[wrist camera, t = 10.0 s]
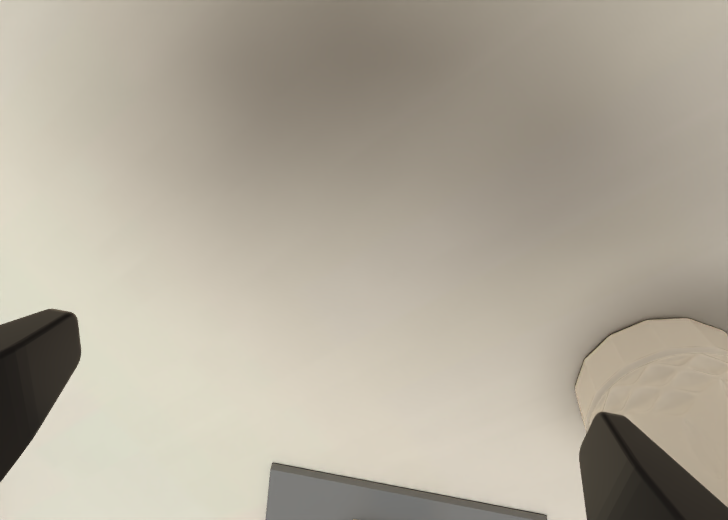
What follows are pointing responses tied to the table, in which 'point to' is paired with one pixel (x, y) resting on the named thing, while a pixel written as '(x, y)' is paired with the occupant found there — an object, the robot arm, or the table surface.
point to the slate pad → (367, 500)
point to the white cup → (666, 391)
